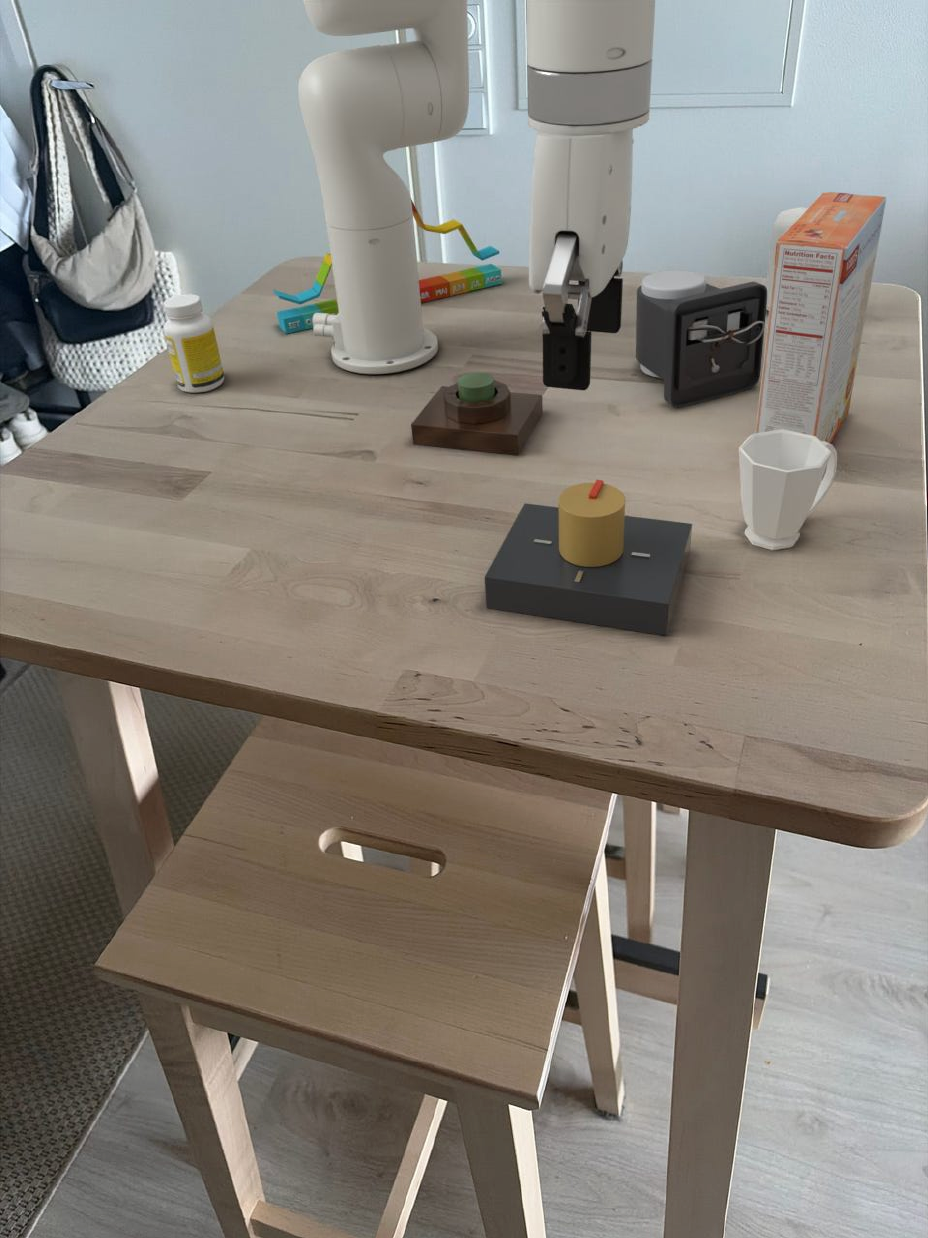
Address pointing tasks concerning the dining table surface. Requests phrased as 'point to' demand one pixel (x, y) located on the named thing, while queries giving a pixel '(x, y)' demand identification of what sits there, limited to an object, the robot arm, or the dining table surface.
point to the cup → (782, 484)
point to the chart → (428, 287)
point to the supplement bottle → (192, 345)
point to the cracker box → (818, 314)
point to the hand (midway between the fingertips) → (583, 357)
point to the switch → (476, 387)
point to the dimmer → (591, 524)
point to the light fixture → (699, 335)
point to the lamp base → (478, 421)
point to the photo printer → (779, 230)
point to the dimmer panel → (590, 574)
